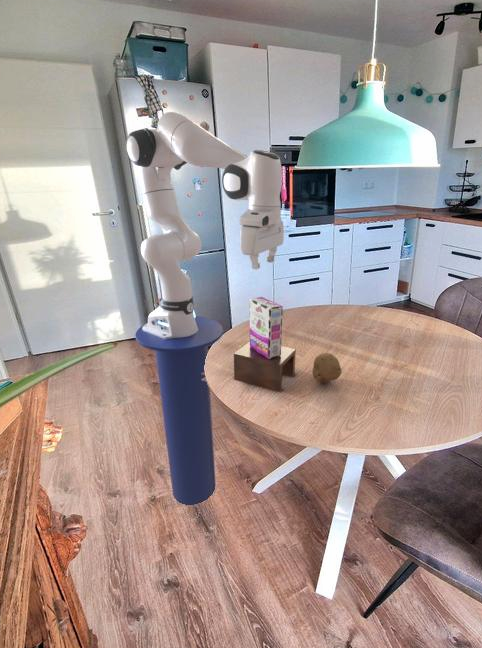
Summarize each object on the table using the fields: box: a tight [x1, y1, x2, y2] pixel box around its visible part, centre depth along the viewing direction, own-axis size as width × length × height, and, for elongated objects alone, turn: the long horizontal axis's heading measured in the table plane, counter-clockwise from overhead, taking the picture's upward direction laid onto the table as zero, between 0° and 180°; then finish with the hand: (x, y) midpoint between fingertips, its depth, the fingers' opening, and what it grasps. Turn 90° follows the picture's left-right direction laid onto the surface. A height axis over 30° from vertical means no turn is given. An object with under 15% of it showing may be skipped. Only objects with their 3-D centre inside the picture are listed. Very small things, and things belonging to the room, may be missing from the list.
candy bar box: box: [249, 296, 283, 359], centre depth 119 cm, size 11×5×16 cm, turn 38°
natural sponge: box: [311, 352, 343, 383], centre depth 123 cm, size 9×9×10 cm
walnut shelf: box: [233, 341, 297, 393], centre depth 125 cm, size 16×12×9 cm
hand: (263, 265), depth 113 cm, fingers open, 8 cm apart
